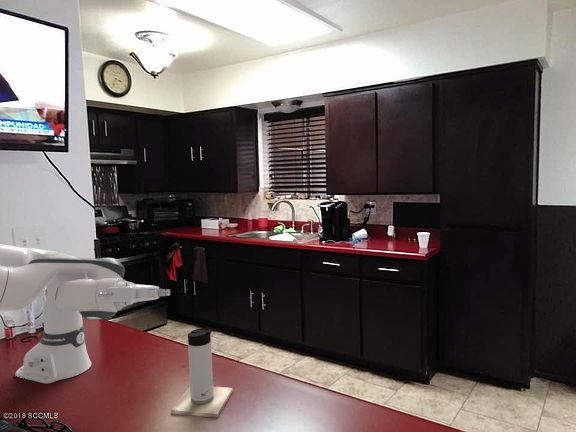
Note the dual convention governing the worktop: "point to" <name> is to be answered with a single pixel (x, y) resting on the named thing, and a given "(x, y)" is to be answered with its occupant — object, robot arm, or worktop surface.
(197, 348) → the travel mug
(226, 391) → the coaster board
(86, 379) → the worktop surface
